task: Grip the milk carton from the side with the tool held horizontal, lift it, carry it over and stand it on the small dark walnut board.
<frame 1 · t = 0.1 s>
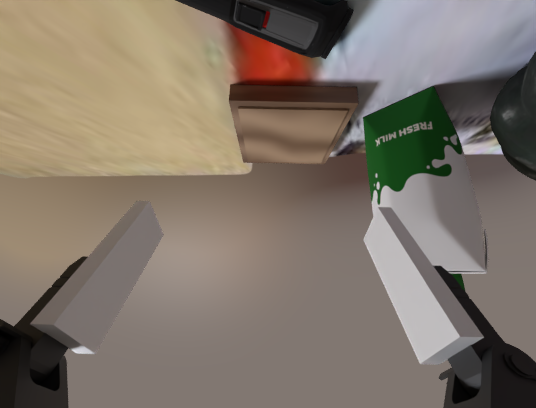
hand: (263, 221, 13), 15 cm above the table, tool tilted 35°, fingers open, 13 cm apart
board: (287, 126, 28), on the table
milk carton: (402, 116, 26), on the table
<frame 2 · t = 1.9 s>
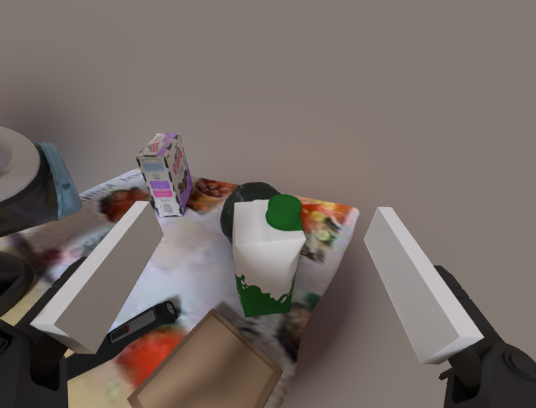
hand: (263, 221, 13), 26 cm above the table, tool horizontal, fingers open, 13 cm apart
squash: (256, 236, 47), on the table
board: (210, 387, 26), on the table
milk carton: (264, 294, 36), on the table
electric trimmer: (125, 343, 31), on the table
candy box: (178, 201, 57), on the table
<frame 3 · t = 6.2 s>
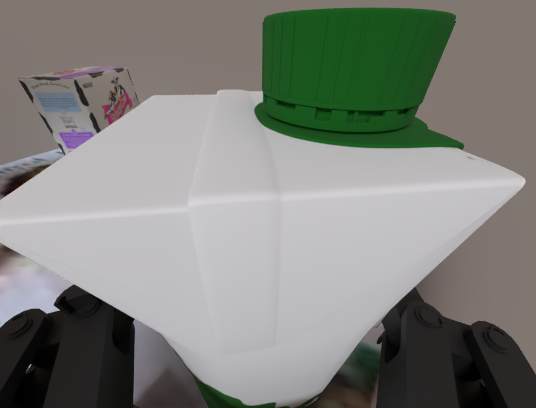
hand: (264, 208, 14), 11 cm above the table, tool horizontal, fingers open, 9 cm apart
milk carton: (261, 350, 17), on the table, touching gripper
candy box: (131, 179, 37), on the table
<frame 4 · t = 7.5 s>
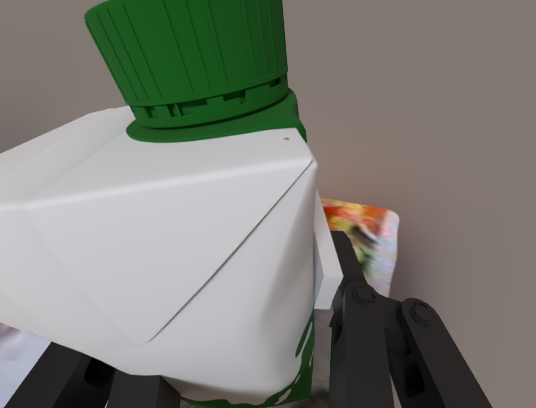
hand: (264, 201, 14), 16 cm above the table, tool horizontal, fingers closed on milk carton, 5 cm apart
milk carton: (257, 346, 17), point 5 cm above the table, touching gripper
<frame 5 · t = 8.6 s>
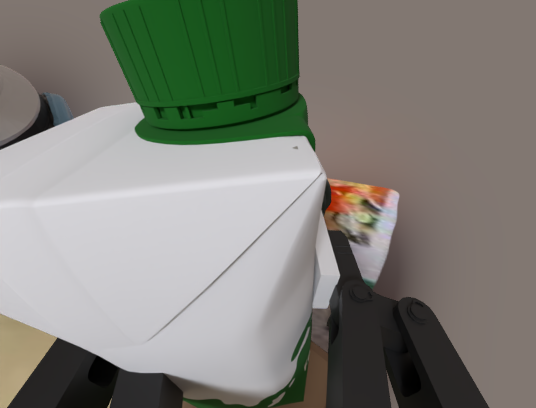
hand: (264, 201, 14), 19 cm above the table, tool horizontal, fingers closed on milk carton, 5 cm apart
board: (256, 390, 21), on the table
milk carton: (252, 347, 17), point 8 cm above the table, touching gripper
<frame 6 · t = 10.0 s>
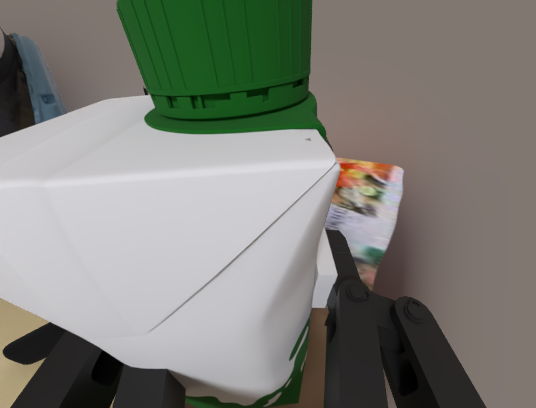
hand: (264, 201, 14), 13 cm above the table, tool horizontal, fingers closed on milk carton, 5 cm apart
board: (260, 359, 18), on the table
milk carton: (248, 347, 17), point 2 cm above the table, touching board, gripper
electric trimmer: (131, 307, 22), on the table
when the fingers open (13 cm above the table, at t = 10.1 s): milk carton stays where it is, resting on board.
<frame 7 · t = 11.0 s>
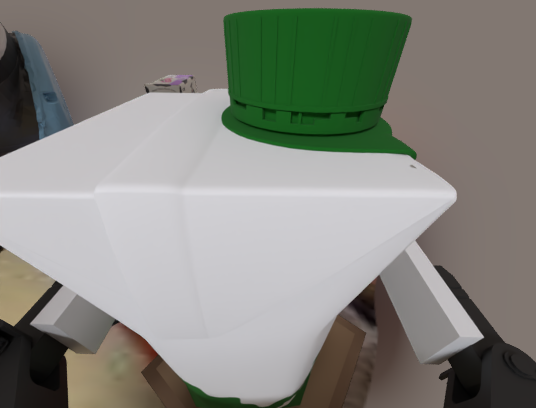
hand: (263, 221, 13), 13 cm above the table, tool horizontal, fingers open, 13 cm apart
board: (261, 359, 18), on the table
milk carton: (250, 348, 17), point 2 cm above the table, touching board
candy box: (191, 160, 49), on the table
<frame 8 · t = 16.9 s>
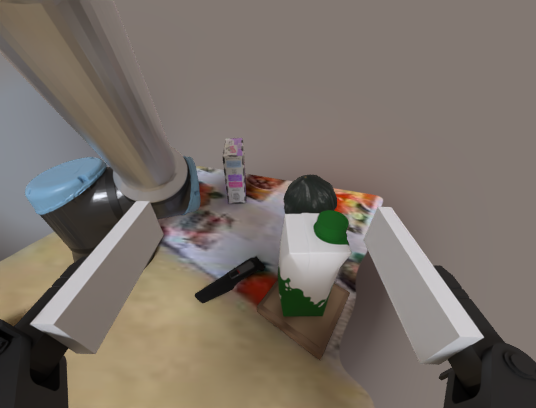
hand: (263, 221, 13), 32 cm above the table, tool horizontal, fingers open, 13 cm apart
squash: (307, 217, 62), on the table
board: (303, 304, 41), on the table
milk carton: (299, 298, 40), point 2 cm above the table, touching board
electric trimmer: (234, 282, 45), on the table
candy box: (237, 192, 71), on the table
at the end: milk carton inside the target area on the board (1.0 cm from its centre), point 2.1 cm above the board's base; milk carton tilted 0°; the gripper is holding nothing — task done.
